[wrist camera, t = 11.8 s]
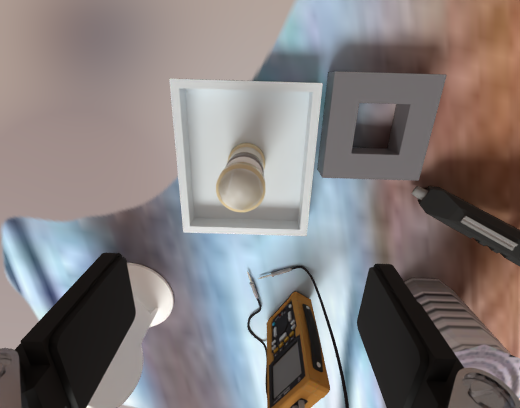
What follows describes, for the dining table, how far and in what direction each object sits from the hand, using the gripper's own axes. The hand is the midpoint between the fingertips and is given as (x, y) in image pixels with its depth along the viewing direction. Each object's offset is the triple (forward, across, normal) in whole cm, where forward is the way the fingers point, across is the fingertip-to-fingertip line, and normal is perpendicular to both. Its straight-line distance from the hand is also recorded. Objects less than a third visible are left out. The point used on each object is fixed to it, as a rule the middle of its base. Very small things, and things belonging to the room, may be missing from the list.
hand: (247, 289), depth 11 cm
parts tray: (+22, +1, +1) cm, 22 cm away
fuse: (+22, +1, +1) cm, 22 cm away
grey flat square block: (+22, -12, -3) cm, 26 cm away
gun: (+23, -25, +6) cm, 34 cm away
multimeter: (+23, -2, +21) cm, 31 cm away
